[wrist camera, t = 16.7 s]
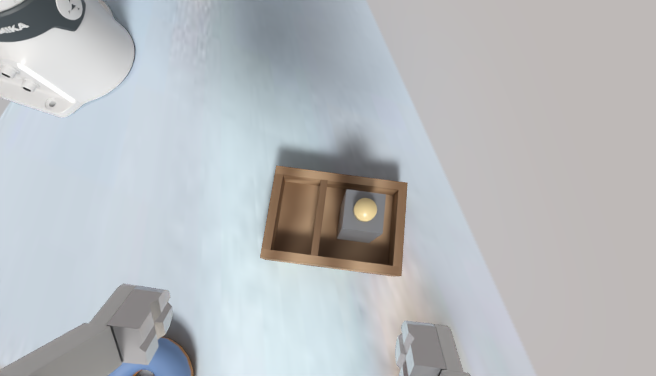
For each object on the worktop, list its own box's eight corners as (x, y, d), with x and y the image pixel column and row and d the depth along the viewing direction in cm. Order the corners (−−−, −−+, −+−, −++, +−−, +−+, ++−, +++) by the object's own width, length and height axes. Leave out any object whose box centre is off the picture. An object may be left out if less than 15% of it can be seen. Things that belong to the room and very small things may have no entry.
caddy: (265, 259, 41) (260, 257, 38) (279, 175, 44) (276, 165, 40) (393, 276, 41) (401, 276, 38) (399, 191, 44) (407, 182, 40)
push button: (336, 238, 41) (342, 226, 32) (340, 207, 42) (347, 186, 33) (368, 243, 41) (384, 232, 32) (371, 211, 42) (387, 191, 33)
